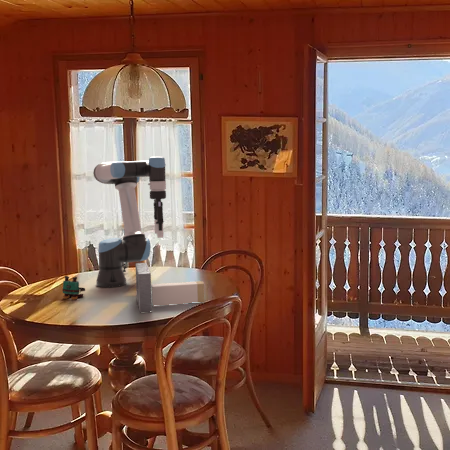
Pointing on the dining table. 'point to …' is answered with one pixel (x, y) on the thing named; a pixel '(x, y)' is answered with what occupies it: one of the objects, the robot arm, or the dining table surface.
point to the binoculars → (71, 288)
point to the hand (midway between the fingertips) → (159, 235)
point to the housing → (143, 287)
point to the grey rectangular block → (177, 293)
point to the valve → (124, 267)
